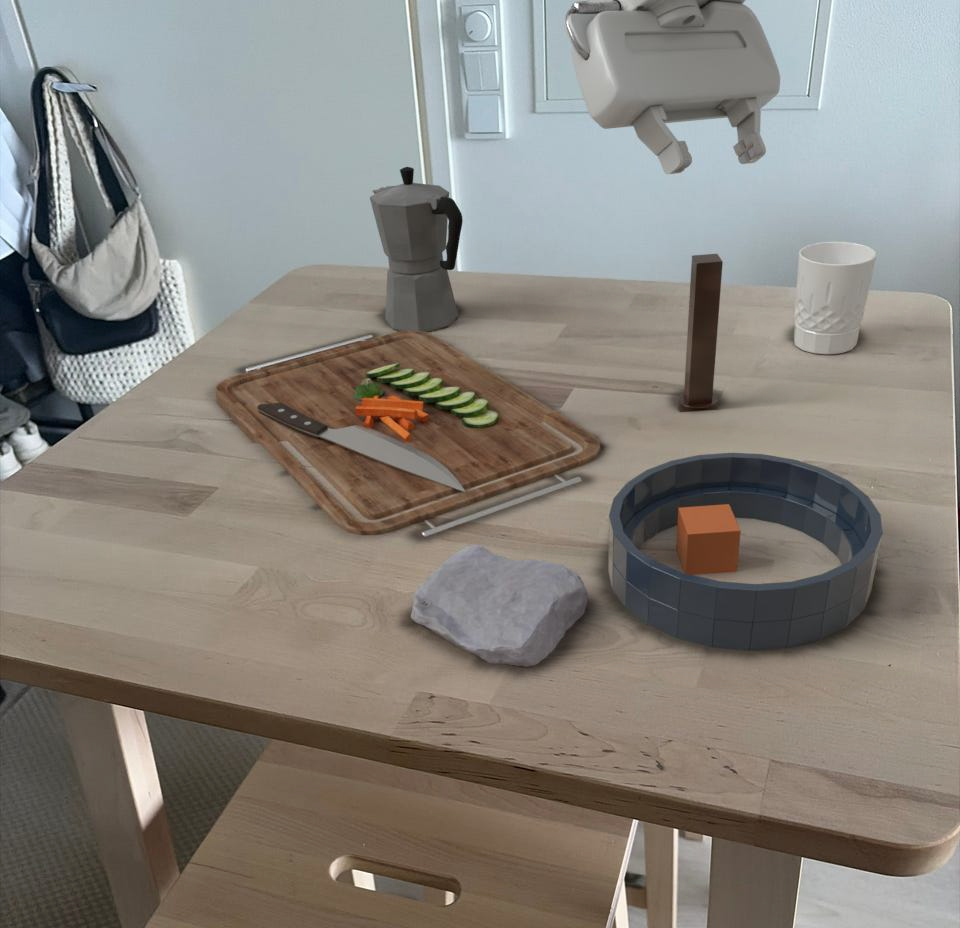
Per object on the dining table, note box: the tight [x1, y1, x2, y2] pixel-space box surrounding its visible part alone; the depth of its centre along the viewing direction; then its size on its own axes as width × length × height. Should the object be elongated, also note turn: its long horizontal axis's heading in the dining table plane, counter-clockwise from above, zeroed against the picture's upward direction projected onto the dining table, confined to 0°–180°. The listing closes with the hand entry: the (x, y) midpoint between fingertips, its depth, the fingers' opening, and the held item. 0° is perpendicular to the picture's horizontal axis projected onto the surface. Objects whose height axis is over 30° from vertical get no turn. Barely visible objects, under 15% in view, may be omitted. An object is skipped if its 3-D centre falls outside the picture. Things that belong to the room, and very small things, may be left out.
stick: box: [676, 253, 724, 413], centre depth 100 cm, size 4×4×15 cm
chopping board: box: [214, 330, 601, 538], centre depth 105 cm, size 45×27×3 cm, turn 30°
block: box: [675, 504, 742, 576], centre depth 80 cm, size 4×4×4 cm
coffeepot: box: [369, 166, 464, 333], centre depth 124 cm, size 15×9×18 cm, turn 43°
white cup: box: [793, 241, 878, 355], centre depth 112 cm, size 8×8×10 cm
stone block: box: [410, 544, 589, 668], centre depth 77 cm, size 12×5×10 cm
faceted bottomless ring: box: [607, 452, 884, 652], centre depth 78 cm, size 20×20×6 cm
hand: (718, 164), depth 82 cm, fingers open, 8 cm apart
